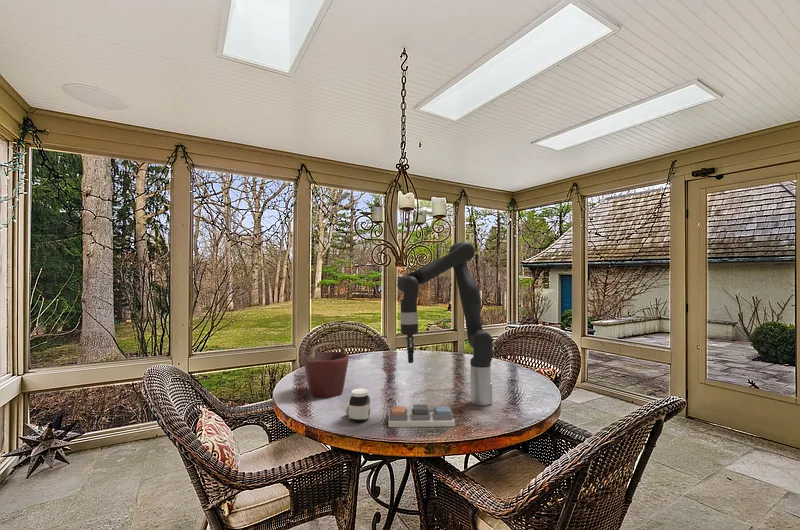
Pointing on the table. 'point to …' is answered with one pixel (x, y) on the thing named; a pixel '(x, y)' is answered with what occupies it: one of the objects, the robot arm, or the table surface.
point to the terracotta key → (398, 410)
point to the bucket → (326, 371)
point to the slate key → (442, 410)
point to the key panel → (420, 420)
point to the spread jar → (358, 406)
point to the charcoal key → (420, 409)
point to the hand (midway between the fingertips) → (410, 362)
